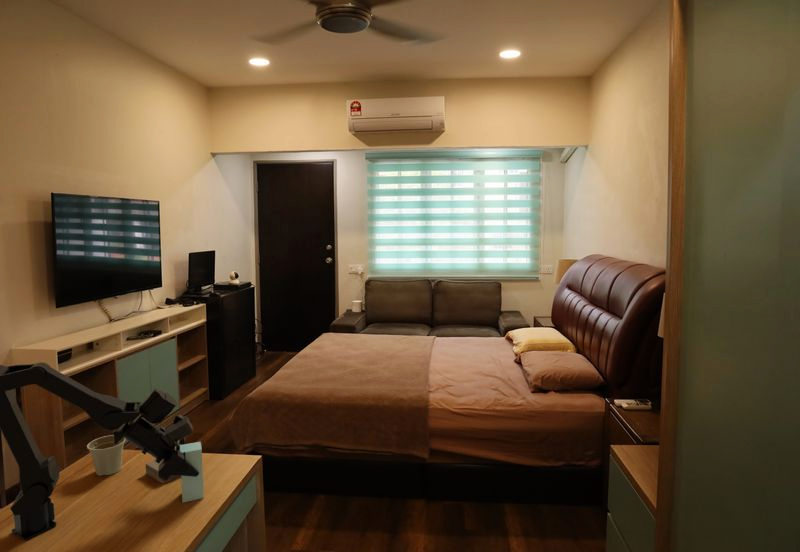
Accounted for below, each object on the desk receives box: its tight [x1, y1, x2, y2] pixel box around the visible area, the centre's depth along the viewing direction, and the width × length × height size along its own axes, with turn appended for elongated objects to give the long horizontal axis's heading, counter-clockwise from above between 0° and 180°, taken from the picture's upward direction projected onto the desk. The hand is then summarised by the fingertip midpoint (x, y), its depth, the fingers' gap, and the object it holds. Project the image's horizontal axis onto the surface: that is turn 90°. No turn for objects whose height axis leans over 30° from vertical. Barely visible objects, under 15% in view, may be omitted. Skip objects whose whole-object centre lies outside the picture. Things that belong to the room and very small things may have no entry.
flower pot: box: [86, 434, 127, 477], centre depth 138 cm, size 9×9×9 cm
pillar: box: [180, 441, 205, 504], centre depth 125 cm, size 5×5×13 cm
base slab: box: [145, 459, 181, 484], centre depth 138 cm, size 9×9×3 cm
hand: (197, 469), depth 126 cm, fingers closed on pillar, 5 cm apart
